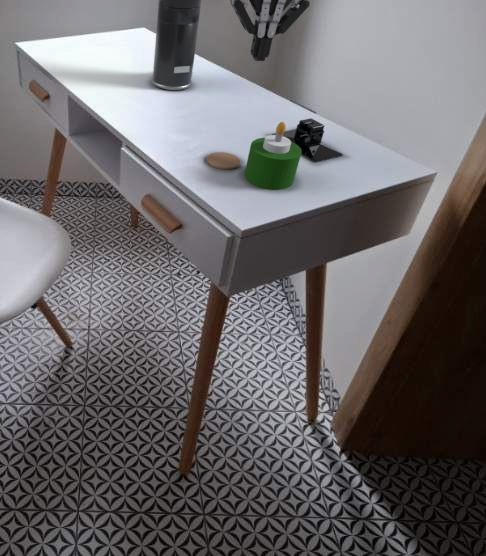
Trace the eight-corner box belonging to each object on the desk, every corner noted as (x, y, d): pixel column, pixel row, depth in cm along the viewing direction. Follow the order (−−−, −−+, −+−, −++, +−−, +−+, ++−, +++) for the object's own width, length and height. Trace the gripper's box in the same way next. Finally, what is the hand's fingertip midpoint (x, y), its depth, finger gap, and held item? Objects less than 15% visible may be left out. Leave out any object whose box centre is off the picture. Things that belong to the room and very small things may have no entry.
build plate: (270, 136, 102) (275, 113, 99) (298, 130, 105) (304, 108, 102) (314, 162, 94) (321, 138, 91) (343, 155, 96) (351, 132, 94)
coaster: (203, 154, 95) (203, 152, 95) (234, 153, 96) (235, 151, 95) (211, 169, 90) (211, 167, 90) (244, 169, 91) (244, 167, 91)
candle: (235, 169, 91) (246, 114, 84) (275, 163, 93) (289, 109, 87) (260, 192, 85) (274, 135, 78) (303, 185, 87) (320, 129, 81)
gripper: (314, -64, 80) (287, 53, 91) (232, -66, 79) (215, 53, 90) (335, -57, 75) (303, 66, 86) (247, -59, 73) (226, 66, 84)
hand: (258, 59), depth 88 cm, fingers closed
